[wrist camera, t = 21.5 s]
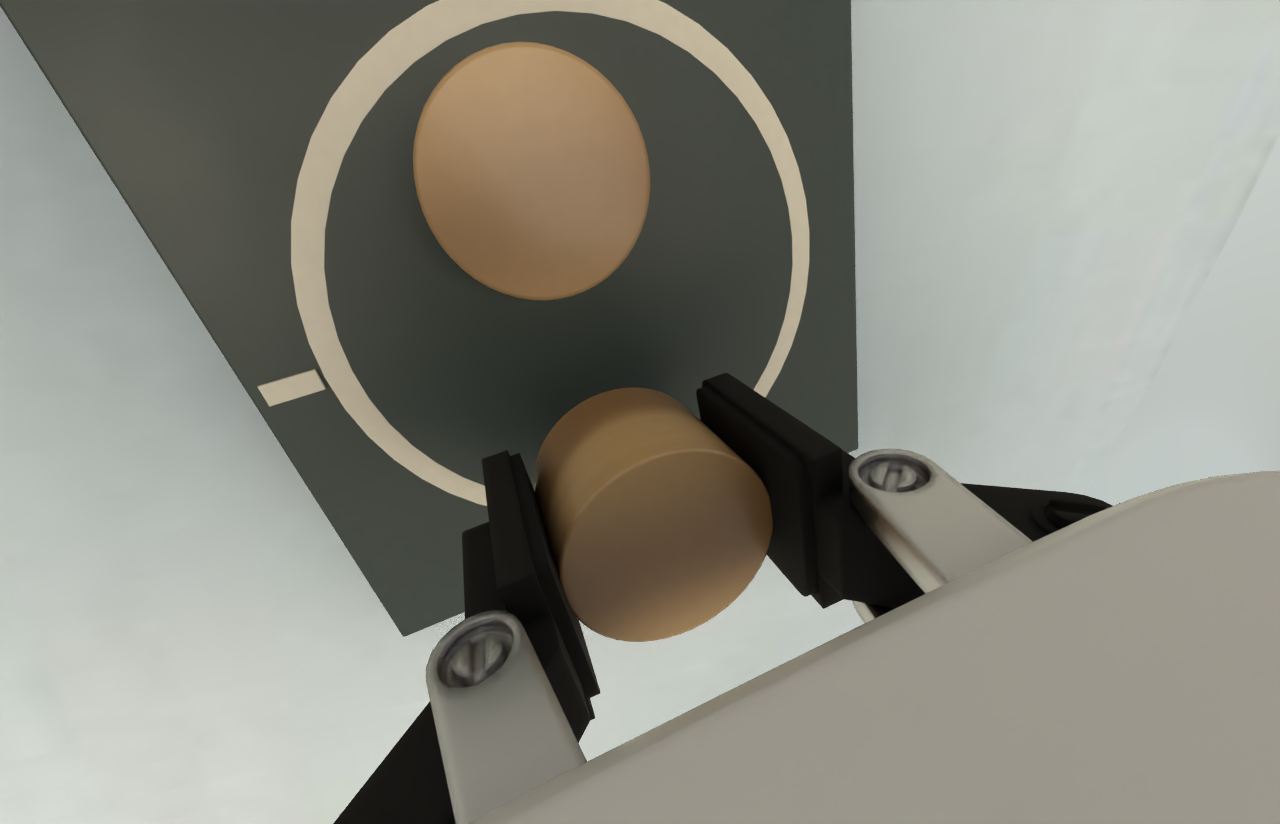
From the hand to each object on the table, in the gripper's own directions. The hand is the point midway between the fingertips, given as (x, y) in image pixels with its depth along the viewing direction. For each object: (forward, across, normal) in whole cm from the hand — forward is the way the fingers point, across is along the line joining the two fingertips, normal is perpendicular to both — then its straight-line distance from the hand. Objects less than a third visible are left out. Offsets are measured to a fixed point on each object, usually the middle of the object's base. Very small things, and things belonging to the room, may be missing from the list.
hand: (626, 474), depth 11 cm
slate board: (+4, -1, -3) cm, 5 cm away
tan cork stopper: (0, 0, 0) cm, 0 cm away
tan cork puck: (+3, 0, -6) cm, 7 cm away
